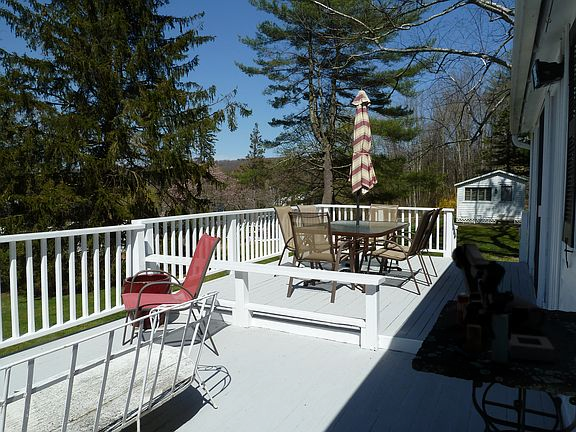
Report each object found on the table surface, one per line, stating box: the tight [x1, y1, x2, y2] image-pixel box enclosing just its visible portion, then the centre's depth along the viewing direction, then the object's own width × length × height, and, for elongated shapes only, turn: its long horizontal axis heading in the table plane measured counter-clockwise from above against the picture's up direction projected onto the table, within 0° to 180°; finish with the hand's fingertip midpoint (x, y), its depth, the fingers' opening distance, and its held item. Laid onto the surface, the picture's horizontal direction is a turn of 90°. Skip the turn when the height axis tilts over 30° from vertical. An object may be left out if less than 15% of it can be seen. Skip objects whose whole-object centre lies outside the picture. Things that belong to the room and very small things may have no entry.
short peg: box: [466, 324, 482, 353], centre depth 147 cm, size 4×4×8 cm
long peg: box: [491, 314, 509, 364], centre depth 138 cm, size 4×4×14 cm
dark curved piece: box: [504, 294, 548, 330], centre depth 176 cm, size 23×9×10 cm, turn 179°
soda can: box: [456, 292, 469, 329], centre depth 174 cm, size 7×7×12 cm
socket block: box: [508, 333, 556, 363], centre depth 144 cm, size 12×12×4 cm
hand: (501, 339), depth 136 cm, fingers closed on long peg, 4 cm apart
